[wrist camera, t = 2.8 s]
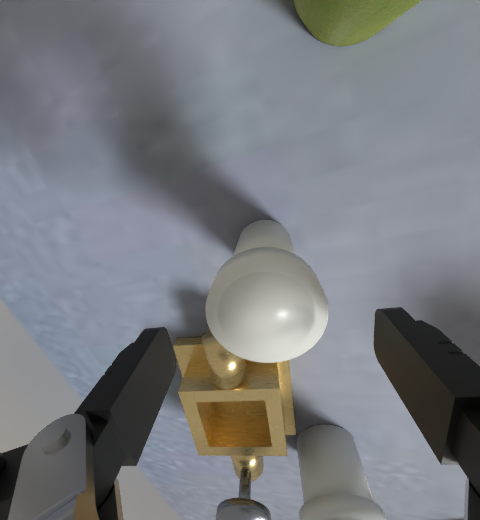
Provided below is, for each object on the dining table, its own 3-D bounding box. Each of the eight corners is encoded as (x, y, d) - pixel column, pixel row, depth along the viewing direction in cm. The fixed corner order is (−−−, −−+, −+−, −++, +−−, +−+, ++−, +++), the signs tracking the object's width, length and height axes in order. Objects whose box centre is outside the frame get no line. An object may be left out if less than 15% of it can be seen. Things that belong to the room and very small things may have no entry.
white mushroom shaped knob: (226, 217, 18) (193, 266, 9) (295, 208, 17) (327, 252, 9) (236, 278, 19) (217, 365, 11) (299, 272, 19) (329, 359, 10)
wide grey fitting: (289, 421, 25) (298, 511, 19) (360, 420, 24) (395, 515, 18) (294, 462, 28) (303, 554, 21) (358, 463, 27) (388, 559, 20)
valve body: (171, 320, 22) (126, 396, 14) (284, 312, 20) (295, 391, 13) (207, 441, 28) (188, 537, 20) (296, 441, 26) (308, 544, 19)
